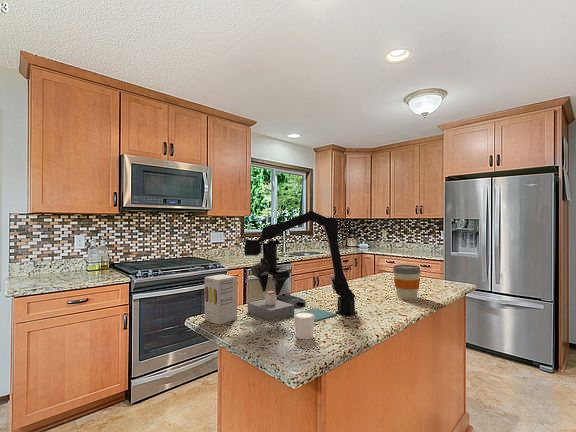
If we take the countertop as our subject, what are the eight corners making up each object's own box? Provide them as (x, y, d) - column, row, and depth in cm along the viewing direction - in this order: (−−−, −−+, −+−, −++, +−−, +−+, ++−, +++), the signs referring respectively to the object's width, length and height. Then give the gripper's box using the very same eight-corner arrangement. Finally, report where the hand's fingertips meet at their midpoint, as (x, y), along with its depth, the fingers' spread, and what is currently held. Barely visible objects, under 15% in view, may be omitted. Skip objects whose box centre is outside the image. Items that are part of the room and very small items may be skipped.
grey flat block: (294, 314, 129) (294, 304, 129) (270, 321, 121) (270, 310, 121) (270, 306, 141) (270, 297, 141) (247, 312, 133) (247, 302, 133)
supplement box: (203, 320, 124) (203, 276, 124) (222, 314, 131) (222, 273, 131) (218, 325, 118) (218, 279, 118) (238, 319, 124) (237, 276, 125)
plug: (275, 313, 131) (275, 291, 131) (269, 315, 129) (269, 292, 129) (271, 312, 133) (271, 290, 133) (265, 313, 131) (265, 291, 131)
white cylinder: (293, 332, 108) (292, 312, 108) (313, 331, 109) (312, 311, 109) (295, 340, 101) (294, 318, 101) (316, 339, 102) (316, 317, 102)
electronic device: (274, 305, 149) (293, 308, 137) (274, 293, 151) (293, 294, 138) (290, 305, 155) (309, 307, 143) (290, 293, 156) (309, 294, 144)
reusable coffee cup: (423, 296, 156) (422, 265, 157) (418, 301, 146) (417, 269, 146) (397, 293, 163) (396, 264, 163) (390, 298, 152) (389, 267, 153)
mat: (336, 315, 127) (336, 314, 127) (315, 321, 120) (315, 320, 120) (315, 309, 136) (315, 308, 136) (294, 314, 129) (294, 313, 129)
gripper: (241, 255, 133) (241, 292, 133) (267, 259, 119) (268, 300, 119) (262, 253, 140) (263, 288, 140) (290, 256, 126) (290, 295, 126)
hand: (270, 293), depth 131 cm, fingers open, 9 cm apart
